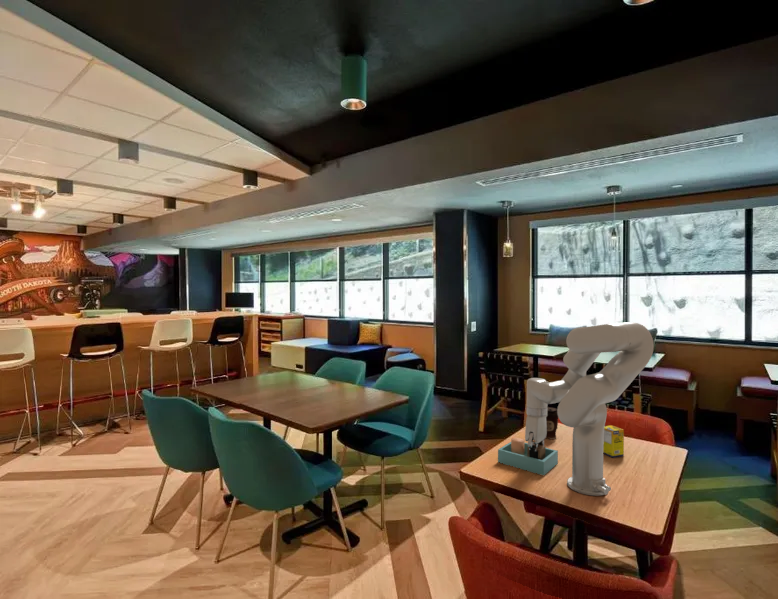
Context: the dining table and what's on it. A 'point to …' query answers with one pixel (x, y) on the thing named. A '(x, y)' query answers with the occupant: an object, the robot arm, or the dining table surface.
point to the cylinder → (517, 446)
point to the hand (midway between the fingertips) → (536, 458)
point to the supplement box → (613, 441)
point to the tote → (528, 459)
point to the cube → (539, 451)
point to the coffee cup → (551, 422)
